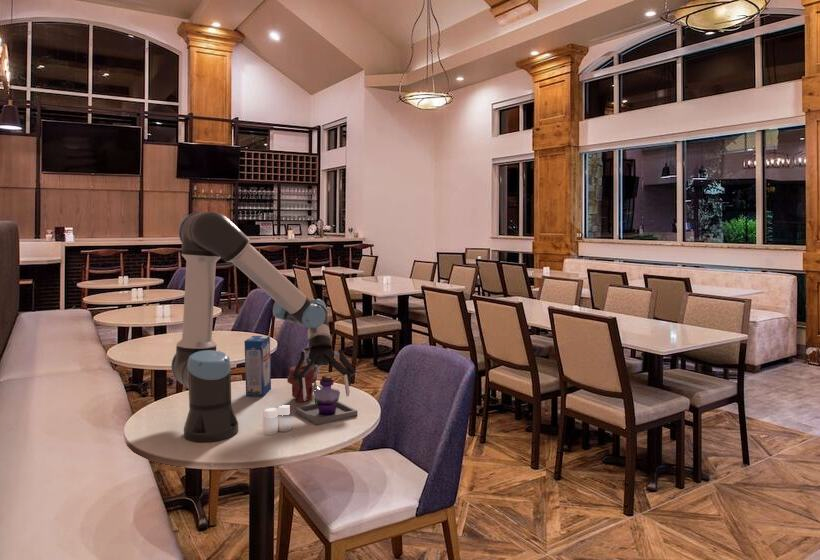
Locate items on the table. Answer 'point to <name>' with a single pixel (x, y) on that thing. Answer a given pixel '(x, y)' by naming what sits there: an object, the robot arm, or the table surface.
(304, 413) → the charcoal tray
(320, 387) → the wine glass
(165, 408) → the table surface
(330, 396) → the potion bottle
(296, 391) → the mechanical component
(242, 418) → the table surface
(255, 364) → the milk carton
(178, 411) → the table surface
